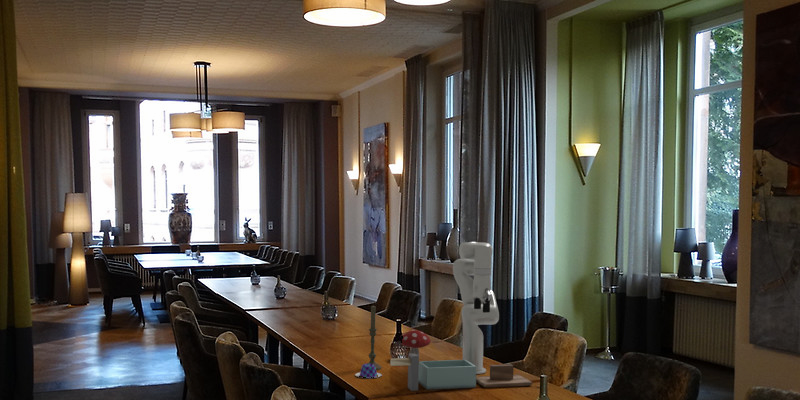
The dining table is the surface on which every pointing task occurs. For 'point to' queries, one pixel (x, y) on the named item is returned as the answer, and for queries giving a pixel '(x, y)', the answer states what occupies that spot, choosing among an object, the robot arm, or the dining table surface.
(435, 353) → the dining table surface
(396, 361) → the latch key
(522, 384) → the toolbox lid
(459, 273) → the robot arm
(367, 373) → the pudding
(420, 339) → the decorative mushroom
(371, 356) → the candlestick holder
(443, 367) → the toolbox
